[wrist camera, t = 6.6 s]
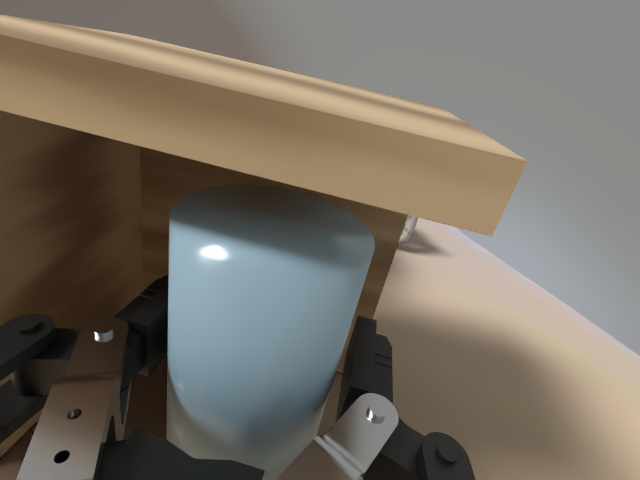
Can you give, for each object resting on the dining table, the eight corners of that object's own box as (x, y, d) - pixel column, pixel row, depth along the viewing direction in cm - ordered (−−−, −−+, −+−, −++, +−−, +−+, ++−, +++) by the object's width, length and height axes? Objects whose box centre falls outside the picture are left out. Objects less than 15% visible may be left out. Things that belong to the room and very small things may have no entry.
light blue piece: (281, 572, 13) (370, 305, 7) (134, 523, 13) (117, 235, 8) (320, 388, 20) (379, 189, 15) (226, 360, 20) (250, 156, 15)
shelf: (328, 580, 13) (527, 160, 6) (-34, 460, 14) (-231, -21, 7) (354, 361, 22) (440, 107, 15) (141, 300, 23) (133, 35, 16)
